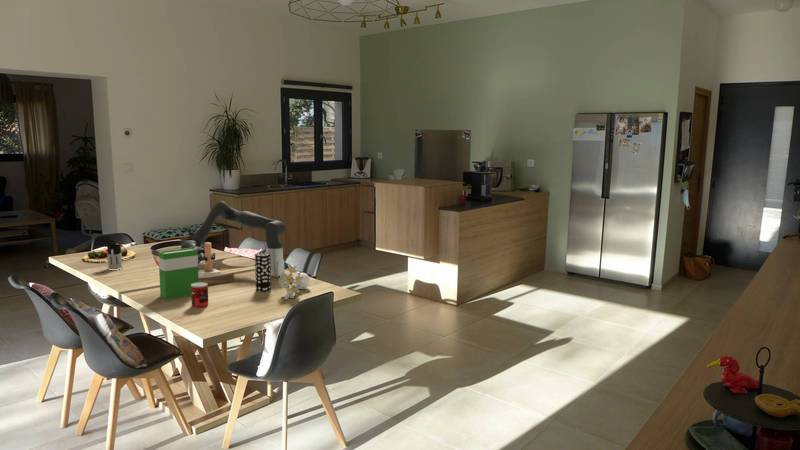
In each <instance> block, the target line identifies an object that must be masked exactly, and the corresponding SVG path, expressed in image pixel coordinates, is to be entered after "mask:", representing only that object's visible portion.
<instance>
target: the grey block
mask: <svg viewBox="0 0 800 450" xmlns="http://www.w3.org/2000/svg"><path fill="white" fill-rule="evenodd" d="M221 272H222V271H220V270H218V269H216V268H213V267H212V272H206V270H205V269H198V276H199V278H202V277H209V276H216V275H222V273H221Z"/></svg>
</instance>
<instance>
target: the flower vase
mask: <svg viewBox="0 0 800 450" xmlns="http://www.w3.org/2000/svg"><path fill="white" fill-rule="evenodd" d="M287 267H288V268H285V270H286V271H287V272H289V273H288V274H287V273H284V271H285V270H284V271H283V270H282V274H281V276H280V277H279V278H278V283H279V284H280V287H282V288H285V290H286V292H287V294H285V295H283V296H282V297H283V298H284V300H288V299H289V298H290V299H291V298H295V297H294V296H295V295H294V293H300V290H305V289H307V288H308V287H309V285H310V283H311V279H310V276H309V275H308V274H307V273H305V272H300V270H298V266H297V265H293V266H292V265H291V264H288V263H287ZM296 273H297V274H296ZM295 274H296V275H295ZM293 275H295V276H293ZM290 286H291V287H290Z"/></svg>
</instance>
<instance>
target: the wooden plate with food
mask: <svg viewBox="0 0 800 450" xmlns="http://www.w3.org/2000/svg"><path fill="white" fill-rule="evenodd" d="M107 253H108V250H107V248H102V249H100V250H98V251H95V249H94V250H93V251H89V252H88V253H87V254H86V255H84V256H83V257H82V260H83V259H84V260H87V261H99V262H100V261H101V262H102V261H103V262H105V261H108V255H107ZM121 253H122V260H123V259H127V258H131V257H133V256H135V257H136V252H135V251H133V250H128V249H127V248H126V247H125V246H121ZM88 257H89V258H88ZM133 258H134V257H133ZM131 259H132V258H131ZM84 260H83V261H84Z"/></svg>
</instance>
